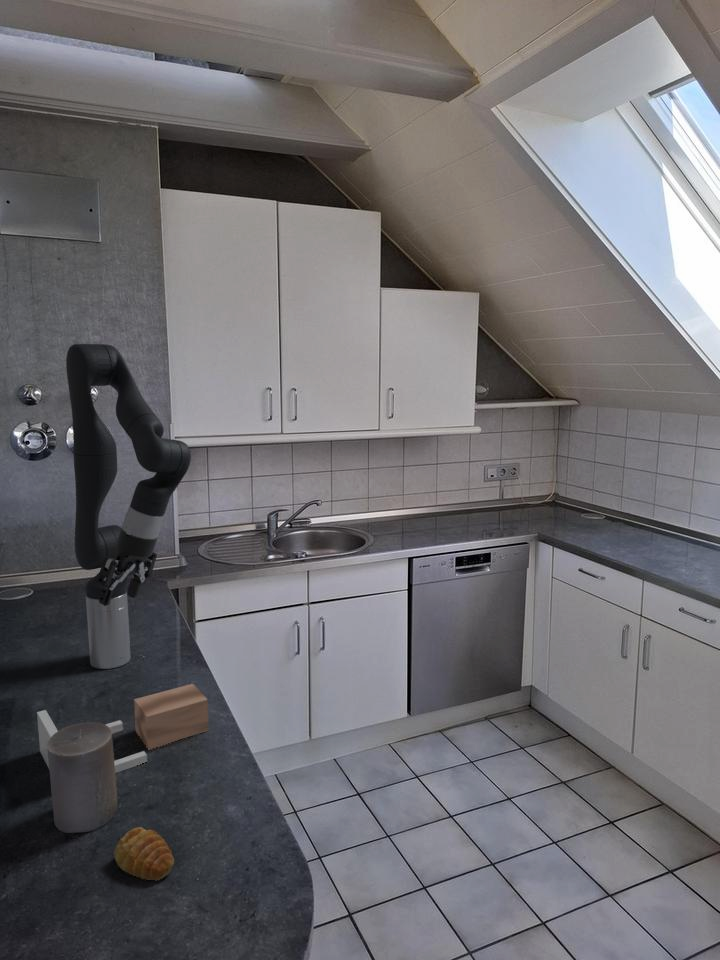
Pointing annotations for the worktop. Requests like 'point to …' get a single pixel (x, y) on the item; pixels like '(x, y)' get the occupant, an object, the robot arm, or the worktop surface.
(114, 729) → the white frame piece
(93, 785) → the pillar candle
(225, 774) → the worktop surface
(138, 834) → the pastry
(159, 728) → the wooden block
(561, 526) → the worktop surface
